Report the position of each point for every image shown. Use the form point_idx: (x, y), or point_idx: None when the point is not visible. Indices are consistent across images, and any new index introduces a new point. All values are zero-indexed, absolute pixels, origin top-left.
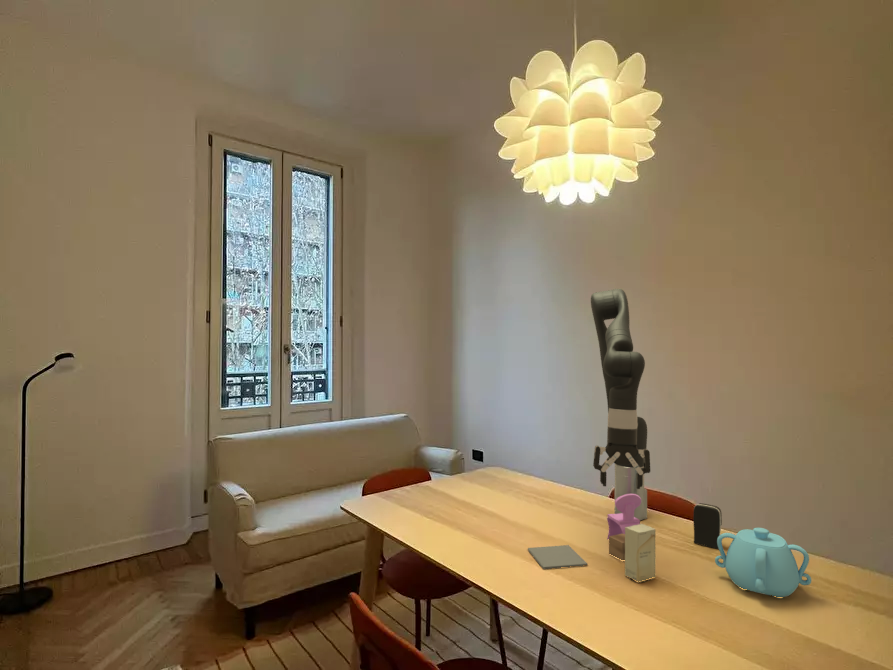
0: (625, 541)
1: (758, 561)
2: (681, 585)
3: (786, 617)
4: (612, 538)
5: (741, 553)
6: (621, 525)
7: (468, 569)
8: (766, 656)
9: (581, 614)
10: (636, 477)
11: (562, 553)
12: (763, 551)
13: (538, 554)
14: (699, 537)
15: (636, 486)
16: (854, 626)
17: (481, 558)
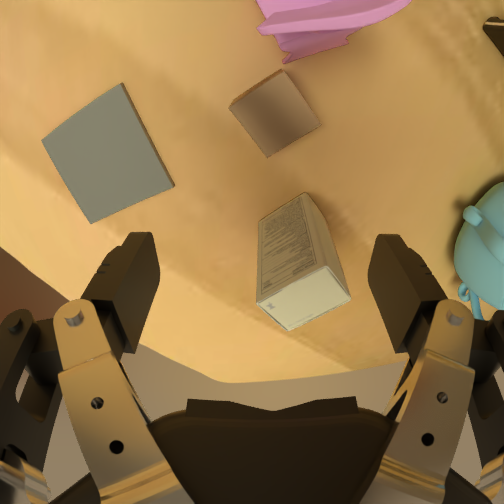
0: (257, 275)
1: None
2: (367, 240)
3: None
4: (239, 121)
5: (483, 295)
6: (285, 45)
7: (9, 244)
8: (372, 362)
9: (179, 333)
10: (399, 301)
11: (111, 144)
12: None
13: (66, 167)
14: (501, 40)
15: (376, 260)
16: None
17: (2, 204)
